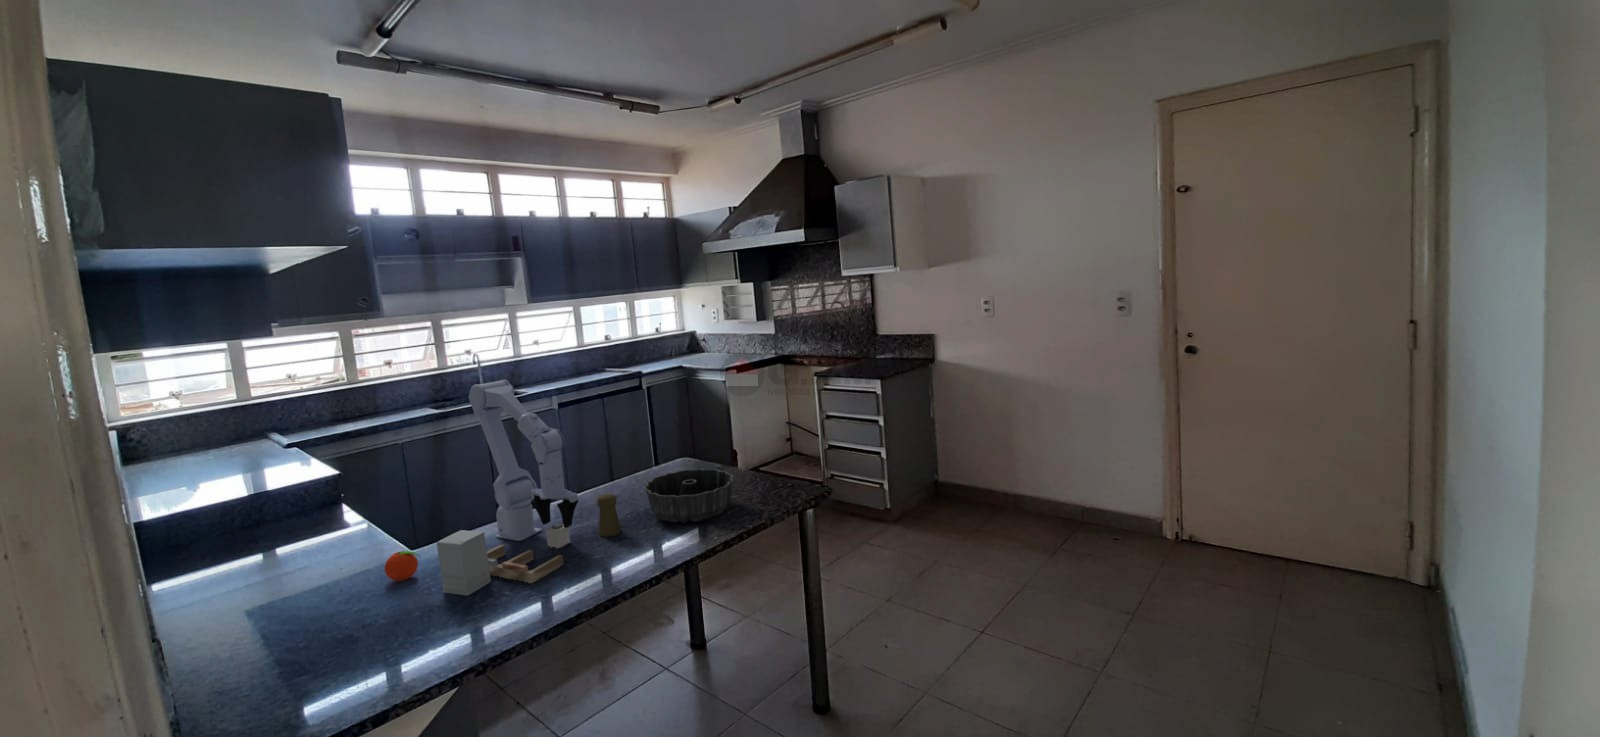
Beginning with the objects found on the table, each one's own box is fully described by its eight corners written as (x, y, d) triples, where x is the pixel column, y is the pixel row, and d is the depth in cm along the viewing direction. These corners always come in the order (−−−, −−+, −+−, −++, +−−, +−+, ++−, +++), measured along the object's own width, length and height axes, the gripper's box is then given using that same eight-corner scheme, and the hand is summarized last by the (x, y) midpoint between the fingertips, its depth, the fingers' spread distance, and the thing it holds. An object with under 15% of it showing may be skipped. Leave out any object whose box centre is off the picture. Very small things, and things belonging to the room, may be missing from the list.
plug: (547, 546, 173) (545, 527, 172) (558, 540, 176) (556, 521, 176) (559, 548, 171) (557, 528, 170) (570, 542, 175) (568, 523, 174)
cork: (617, 536, 177) (613, 498, 176) (595, 537, 178) (591, 499, 176) (623, 527, 183) (620, 490, 182) (602, 528, 184) (599, 491, 182)
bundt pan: (643, 505, 201) (640, 474, 200) (726, 492, 209) (724, 463, 208) (650, 536, 177) (647, 501, 175) (744, 521, 184) (742, 488, 183)
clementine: (427, 570, 162) (423, 543, 161) (420, 582, 155) (416, 554, 154) (391, 576, 160) (387, 548, 159) (382, 588, 153) (378, 560, 152)
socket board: (468, 570, 160) (466, 556, 160) (502, 553, 170) (500, 540, 169) (531, 583, 152) (529, 568, 151) (563, 565, 161) (561, 551, 161)
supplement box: (492, 581, 154) (485, 531, 152) (467, 596, 147) (460, 544, 145) (468, 578, 156) (461, 528, 154) (442, 593, 149) (435, 541, 148)
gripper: (519, 478, 170) (525, 527, 172) (561, 483, 164) (566, 533, 166) (540, 470, 177) (545, 517, 179) (580, 474, 171) (586, 523, 173)
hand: (557, 524), depth 173 cm, fingers open, 7 cm apart
